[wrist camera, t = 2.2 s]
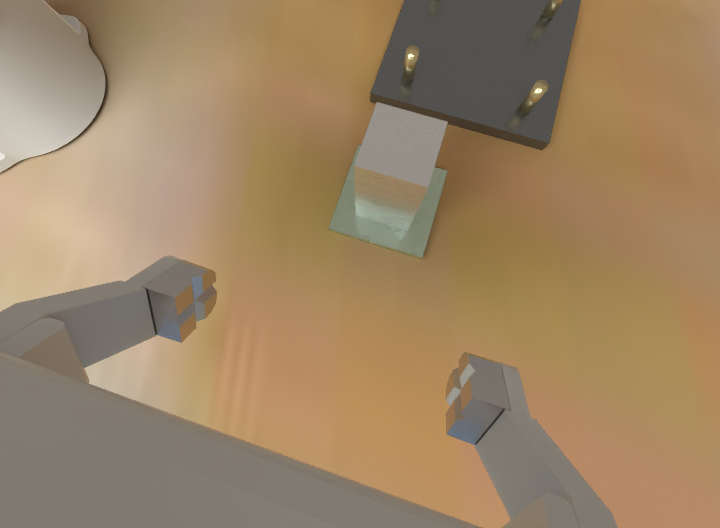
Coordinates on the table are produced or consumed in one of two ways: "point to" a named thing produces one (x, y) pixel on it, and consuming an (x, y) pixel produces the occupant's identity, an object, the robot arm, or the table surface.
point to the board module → (393, 182)
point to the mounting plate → (480, 64)
